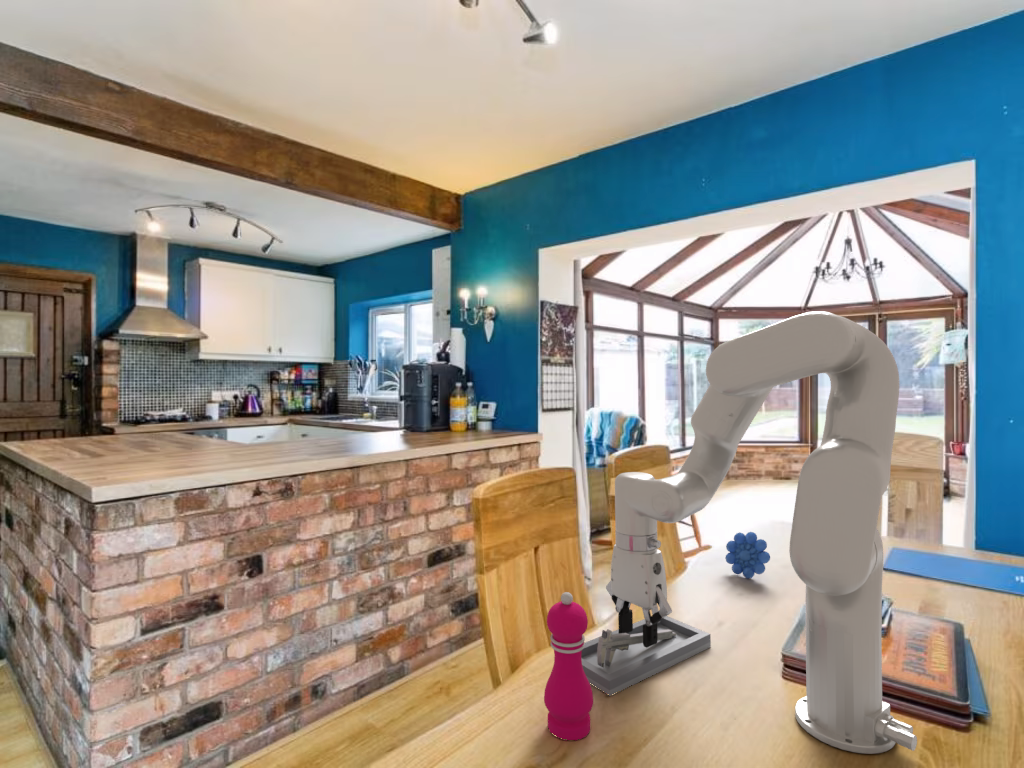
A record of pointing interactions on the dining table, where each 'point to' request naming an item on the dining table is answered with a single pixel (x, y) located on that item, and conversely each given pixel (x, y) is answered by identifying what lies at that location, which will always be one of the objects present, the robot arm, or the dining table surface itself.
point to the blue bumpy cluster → (747, 554)
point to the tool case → (643, 656)
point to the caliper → (622, 643)
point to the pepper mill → (568, 672)
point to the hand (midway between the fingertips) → (637, 637)
